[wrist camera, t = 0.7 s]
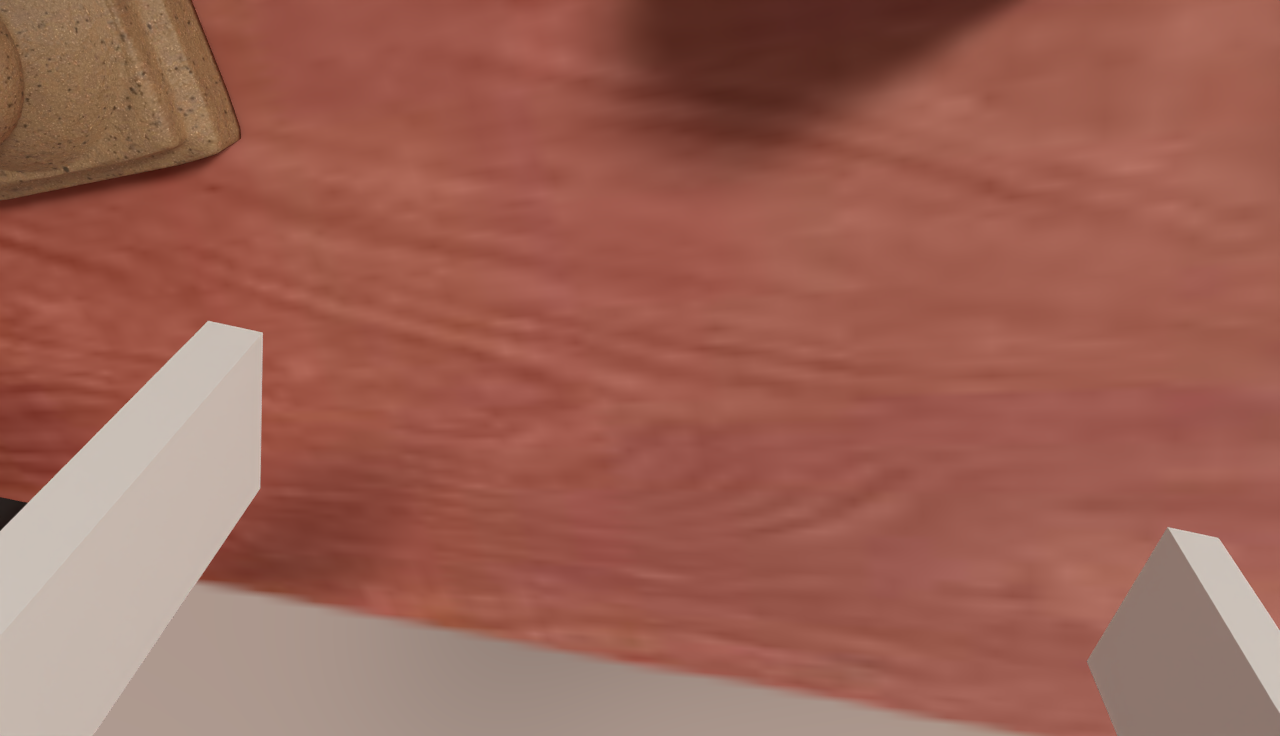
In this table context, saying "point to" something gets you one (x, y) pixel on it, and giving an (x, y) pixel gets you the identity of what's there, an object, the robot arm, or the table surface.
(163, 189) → the table surface
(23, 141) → the candle holder
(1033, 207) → the table surface
